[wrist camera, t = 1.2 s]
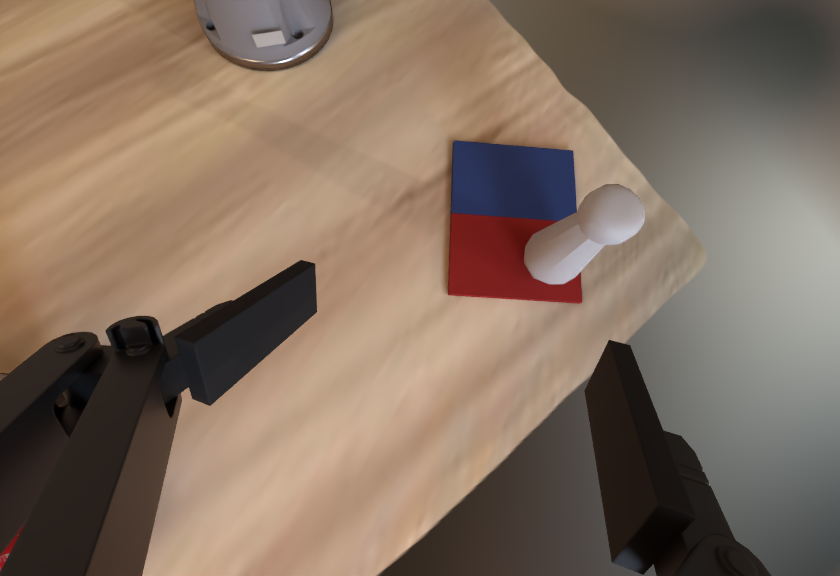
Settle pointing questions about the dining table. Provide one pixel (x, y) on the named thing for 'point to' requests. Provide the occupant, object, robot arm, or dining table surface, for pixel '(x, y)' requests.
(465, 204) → the sorting mat
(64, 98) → the dining table surface
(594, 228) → the salt shaker
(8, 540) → the robot arm
